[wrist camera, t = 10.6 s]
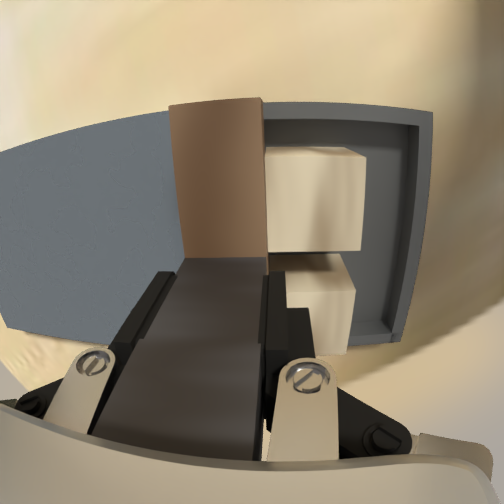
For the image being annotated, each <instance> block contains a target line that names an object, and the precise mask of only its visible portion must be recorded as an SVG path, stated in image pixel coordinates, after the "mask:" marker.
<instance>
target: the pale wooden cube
mask: <svg viewBox="0 0 504 504" xmlns="http://www.w3.org/2000/svg"><path fill="white" fill-rule="evenodd" d="M269 271H285V277H286V296H287V308H306V307H308V308H309V313H310V320H311V327H312V334H313V342H314V349H315V356H327V355H342V354H346V350H347V345H348V339H349V333H350V327H351V321H352V314H353V308H354V301H355V294H356V289H355V287H354V285H353V282H352V280H351V278H350V276H349V273H348V271H347V269H346V267H345V265H344V262H343V260H342V258H341V256H340V254H301V255H269Z"/></svg>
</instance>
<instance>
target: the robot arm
mask: <svg viewBox="0 0 504 504" xmlns="http://www.w3.org/2000/svg"><path fill="white" fill-rule="evenodd" d="M177 276H178V275H175V272H174V271H158V272H157V274H156V275H155V277H154V278H153V280H152V281H151V282H150V284H149V285H148V287H147V288H146V290H145V292H144V293H143V295H142V296H141V298H140V299H139V301H138V302H137V304H136V305H135V307H134V308H133V309H132V311H131V312H130V314H129V315H128V317H127V318H126V320H125V321H124V323H123V325H122V326H121V328H120V329H119V331H118V333H117V334H116V336H115V337H114V339H113V341H112V342H111V344H110V345H109V347H108V349H107V348H103V347H94V348H90V349H87V350H85V351H83V352H81V353H80V354H79V355H78V356H77V357H76V358H75V359H74V361H73V362H72V364H71V366H70V368H69V370H68V371H67V373H66V375H65V377H64V378H62V379H59V380H57V381H55V382H52V383H50V384H47V385H45V386H43V387H40V388H38V389H35V390H33V391H30V392H28V393H26V394H25V395H23V396H22V397H21V398H20V399H19V400H17V399H11V400H2V401H0V504H501V503H500V501H499V498H498V496H497V494H496V492H495V490H494V488H493V486H492V484H491V476H492V467H493V458H492V455H491V453H490V451H489V449H487V448H486V447H485V446H484V445H481V444H478V443H473V442H467V441H461V440H455V439H449V438H444V437H439V436H434V435H429V434H424V433H420V435H419V436H415V435H411V434H410V432H409V431H408V430H407V428H406V427H405V426H403V425H402V424H400V423H399V422H397V421H395V420H394V419H392V418H390V417H388V416H386V415H384V414H383V413H381V412H379V411H377V410H375V409H374V408H372V407H370V406H368V405H366V404H365V403H363V402H361V401H360V400H358V399H356V398H355V397H353V396H351V395H350V394H348V393H346V392H345V391H343V390H341V389H340V388H338V387H337V379H336V374H335V371H334V370H333V368H332V367H331V366H330V365H329V364H327V363H326V362H324V361H322V360H319V359H316V357H315V349H314V342H313V334H312V327H311V320H310V313H309V308H308V307H306V308H287V296H286V277H285V271H269V275H263V283H262V295H261V308H260V320H259V333H258V344H261V376H262V400H263V419H266V427H267V430H268V431H269V432H270V433H271V437H270V443H269V449H268V455H267V461H243V460H227V459H215V458H205V457H197V456H188V455H181V454H174V453H168V452H162V451H156V450H150V449H145V448H140V447H135V446H131V445H126V444H122V443H117V442H113V441H109V440H105V439H102V438H98V437H94V436H91V434H92V432H93V430H94V428H95V426H96V424H97V422H98V420H99V417H100V415H101V413H102V411H103V409H104V407H105V405H106V403H107V401H108V399H109V397H110V395H111V393H112V391H113V389H114V387H115V385H116V383H117V381H118V379H119V377H120V375H121V373H122V371H123V369H124V367H125V365H126V363H127V361H128V360H129V358H130V356H131V354H132V352H133V350H134V348H135V346H136V344H137V343H138V341H139V339H144V337H145V335H146V334H147V332H148V330H149V328H150V326H151V324H152V322H153V320H154V318H155V317H156V315H157V313H158V311H159V309H160V307H161V305H162V304H163V302H164V300H165V298H166V296H167V294H168V293H169V291H170V289H171V287H172V285H173V284H174V282H175V280H176V278H177Z"/></svg>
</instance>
